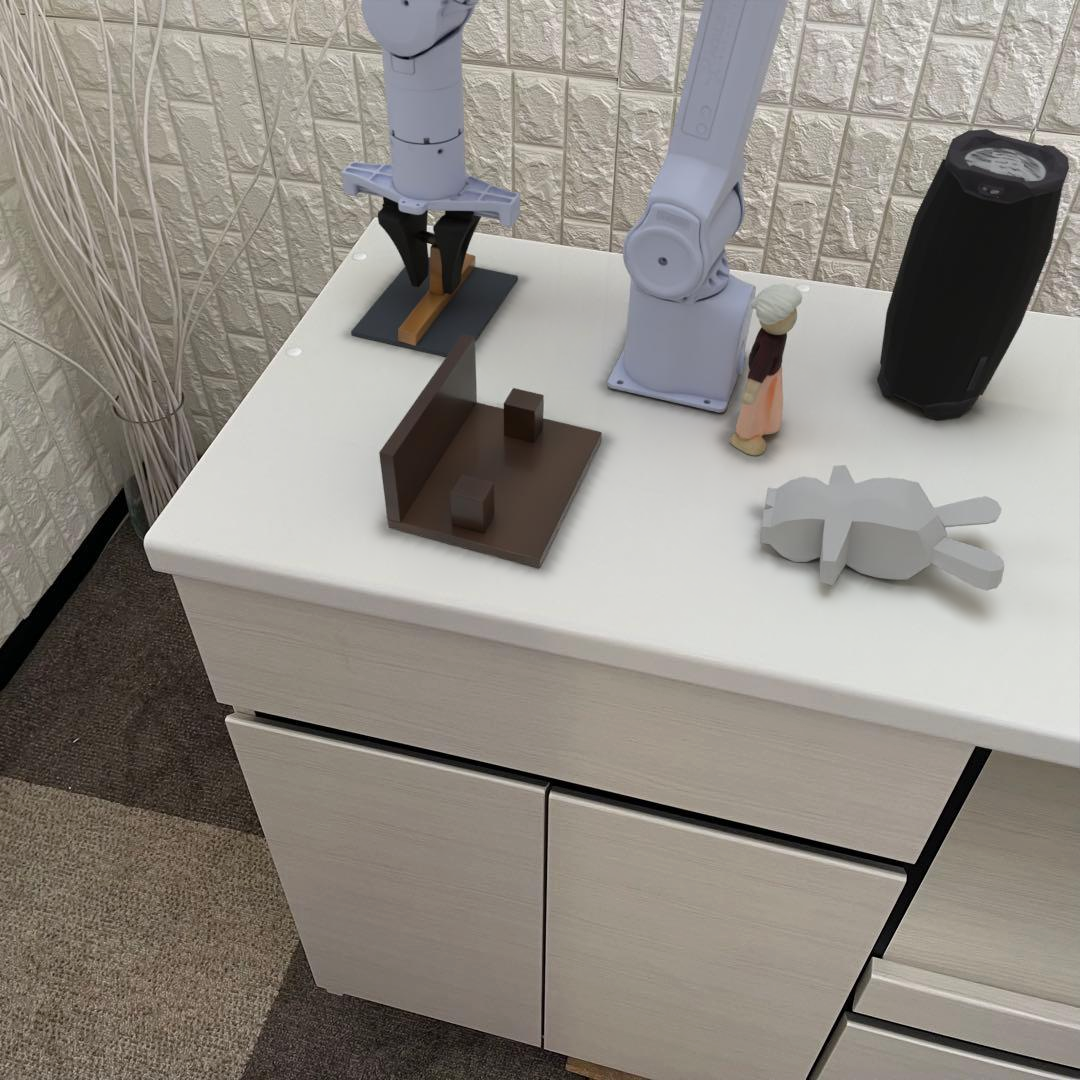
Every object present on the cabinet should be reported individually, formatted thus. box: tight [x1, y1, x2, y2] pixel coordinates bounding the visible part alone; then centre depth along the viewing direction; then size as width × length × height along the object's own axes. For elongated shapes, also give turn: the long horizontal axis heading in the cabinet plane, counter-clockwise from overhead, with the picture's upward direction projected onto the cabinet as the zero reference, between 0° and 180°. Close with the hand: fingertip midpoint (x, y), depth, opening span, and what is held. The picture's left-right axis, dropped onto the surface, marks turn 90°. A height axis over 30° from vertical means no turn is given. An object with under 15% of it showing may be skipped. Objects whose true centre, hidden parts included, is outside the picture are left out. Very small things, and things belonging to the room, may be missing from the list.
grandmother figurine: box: [729, 283, 803, 456], centre depth 76 cm, size 8×4×13 cm, turn 168°
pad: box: [350, 256, 519, 358], centre depth 91 cm, size 10×13×1 cm
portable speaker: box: [876, 128, 1070, 421], centre depth 77 cm, size 9×9×20 cm
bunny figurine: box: [759, 464, 1005, 591], centre depth 70 cm, size 10×5×15 cm
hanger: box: [398, 230, 476, 346], centre depth 89 cm, size 3×13×6 cm, turn 160°
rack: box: [378, 334, 603, 569], centre depth 73 cm, size 11×14×7 cm
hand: (435, 284), depth 90 cm, fingers closed on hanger, 2 cm apart
